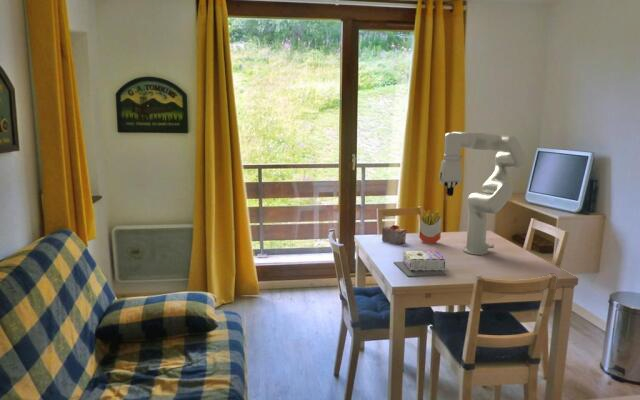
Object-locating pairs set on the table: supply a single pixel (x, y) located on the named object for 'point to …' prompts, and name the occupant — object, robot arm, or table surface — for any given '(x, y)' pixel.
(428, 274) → the mat
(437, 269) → the candy box
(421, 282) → the table surface
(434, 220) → the french fries container
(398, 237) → the food item
